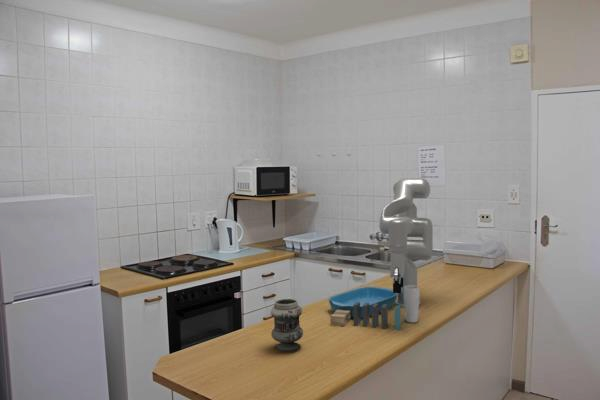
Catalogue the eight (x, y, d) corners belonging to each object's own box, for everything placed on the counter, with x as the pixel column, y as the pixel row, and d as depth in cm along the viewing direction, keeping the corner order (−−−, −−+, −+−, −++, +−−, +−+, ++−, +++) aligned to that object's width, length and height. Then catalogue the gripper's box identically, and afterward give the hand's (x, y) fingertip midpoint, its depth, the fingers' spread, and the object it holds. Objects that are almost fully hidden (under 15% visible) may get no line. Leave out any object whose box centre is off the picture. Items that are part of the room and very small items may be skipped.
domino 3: (372, 327, 207) (371, 306, 206) (374, 323, 212) (374, 303, 211) (375, 327, 206) (375, 306, 206) (378, 324, 211) (378, 303, 210)
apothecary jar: (286, 340, 194) (284, 295, 193) (310, 346, 187) (309, 299, 186) (265, 349, 185) (263, 302, 184) (289, 356, 177) (288, 307, 176)
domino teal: (394, 329, 203) (394, 308, 203) (397, 326, 208) (396, 305, 207) (398, 330, 203) (398, 308, 202) (400, 326, 207) (400, 305, 207)
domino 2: (362, 326, 208) (362, 305, 208) (365, 322, 213) (365, 302, 212) (366, 326, 208) (366, 306, 207) (369, 323, 212) (369, 302, 212)
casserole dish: (356, 324, 212) (356, 307, 212) (319, 313, 228) (319, 298, 228) (405, 306, 238) (405, 291, 237) (369, 297, 254) (369, 284, 253)
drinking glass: (408, 324, 210) (408, 289, 209) (401, 319, 216) (400, 285, 215) (422, 322, 212) (422, 288, 211) (414, 317, 218) (414, 284, 217)
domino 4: (381, 328, 205) (381, 307, 205) (384, 324, 210) (383, 304, 209) (385, 328, 205) (385, 307, 204) (387, 325, 209) (387, 304, 209)
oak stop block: (337, 318, 220) (337, 309, 220) (350, 319, 218) (350, 310, 218) (330, 325, 211) (330, 316, 211) (344, 326, 209) (343, 317, 209)
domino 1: (353, 325, 210) (353, 304, 209) (356, 322, 214) (356, 301, 214) (357, 326, 209) (357, 305, 209) (360, 322, 214) (360, 302, 213)
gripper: (391, 245, 212) (391, 284, 214) (386, 252, 196) (386, 295, 197) (408, 245, 210) (409, 285, 211) (405, 253, 194) (405, 296, 195)
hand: (398, 289), depth 204 cm, fingers open, 9 cm apart
